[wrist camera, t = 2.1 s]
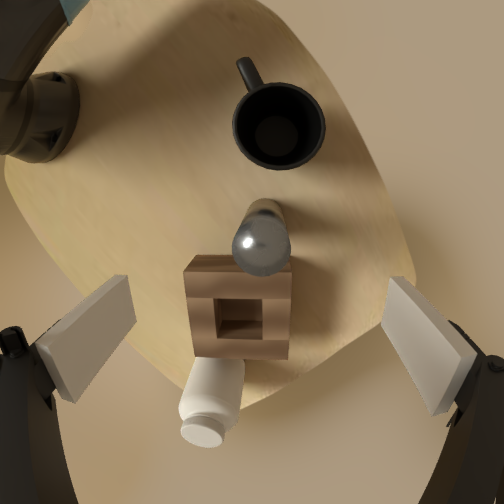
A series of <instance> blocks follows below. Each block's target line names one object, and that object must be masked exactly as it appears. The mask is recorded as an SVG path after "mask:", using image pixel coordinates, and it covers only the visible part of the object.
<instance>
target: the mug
mask: <svg viewBox="0 0 504 504" xmlns="http://www.w3.org/2000/svg"><path fill="white" fill-rule="evenodd" d="M236 65H237V67H238V69H239V72H240V74H241V76H242V78H243V81H244V83H245V85H246V87H247V90H248V93H247V94H246V95H245V96H244V97H243V98H242V99H241V101H240V102H239V103H238V105H237V107H236V110H235V112H234V115H233V121H232V128H233V135H234V138H235V141H236V144H237V145H238V147H239V149H240V150H241V152H242V153H243V154H244V155H245V156H246V157H247V158H248V159H249V160H251V161H252V162H254V163H255V164H257V165H259V166H261V167H264V168H266V169H271V170H290V169H293V168H297V167H299V166H301V165H303V164H305V163H307V162H308V161H309V160H311V159H312V158H313V157H314V156H315V155H316V153H317V152H318V151H319V149H320V148H321V146H322V143H323V141H324V138H325V131H326V125H325V118H324V115H323V112H322V109H321V107H320V106H319V104H318V103H317V101H316V100H315V99H314V98H313V97H312V96H311V95H310V94H309V93H308V92H306V91H305V90H303V89H302V88H300V87H297V86H295V85H292V84H288V83H282V82H277V83H268V84H264V83H263V81H262V79H261V77H260V75H259V73H258V71H257V69H256V67H255V65H254V64H253V62H252V60H251V59H250V58H249V57H243V58H240V59H238V60H237V62H236Z"/></svg>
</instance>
